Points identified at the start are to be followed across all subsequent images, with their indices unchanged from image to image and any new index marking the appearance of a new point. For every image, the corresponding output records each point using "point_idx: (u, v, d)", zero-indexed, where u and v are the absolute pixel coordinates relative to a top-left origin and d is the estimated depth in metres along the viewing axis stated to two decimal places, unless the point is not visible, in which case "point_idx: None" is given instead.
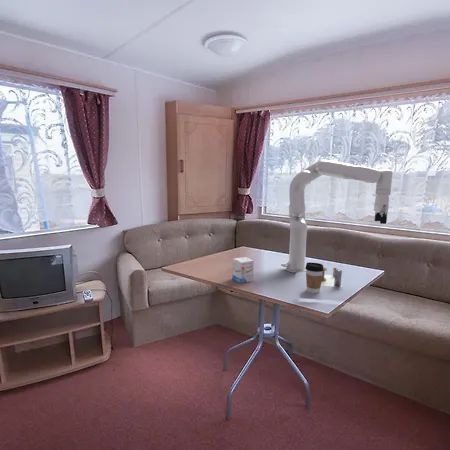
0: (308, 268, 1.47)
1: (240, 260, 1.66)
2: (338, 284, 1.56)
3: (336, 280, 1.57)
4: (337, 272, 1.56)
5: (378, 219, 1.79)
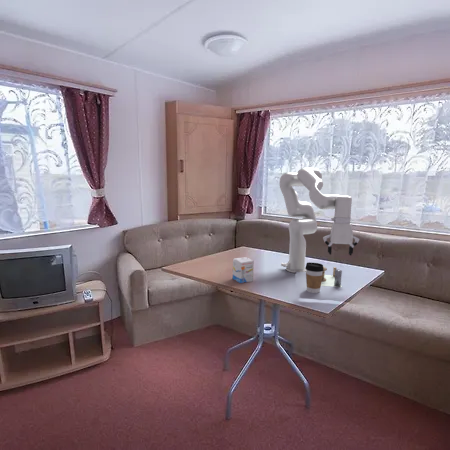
0: (308, 268, 1.47)
1: (240, 260, 1.66)
2: (338, 284, 1.56)
3: (336, 280, 1.57)
4: (337, 272, 1.56)
5: (330, 251, 1.56)
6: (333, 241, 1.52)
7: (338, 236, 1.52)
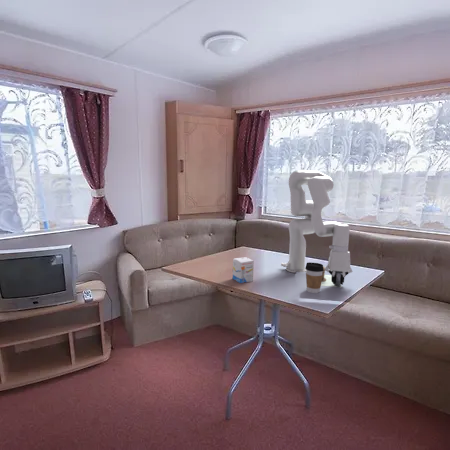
0: (308, 268, 1.47)
1: (240, 260, 1.66)
2: (338, 284, 1.56)
3: (336, 280, 1.57)
4: (337, 272, 1.56)
5: None
6: (331, 269, 1.55)
7: (336, 264, 1.54)
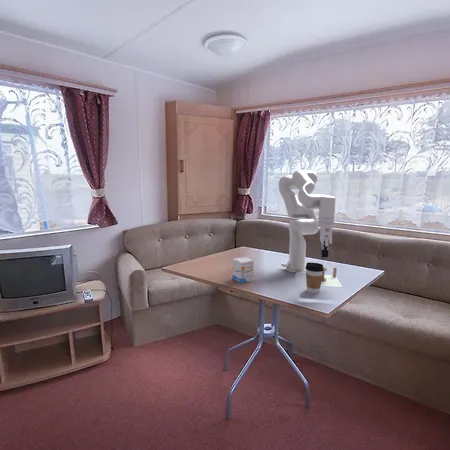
0: (308, 268, 1.47)
1: (240, 260, 1.66)
2: None
3: None
4: None
5: None
6: (331, 242, 1.52)
7: None
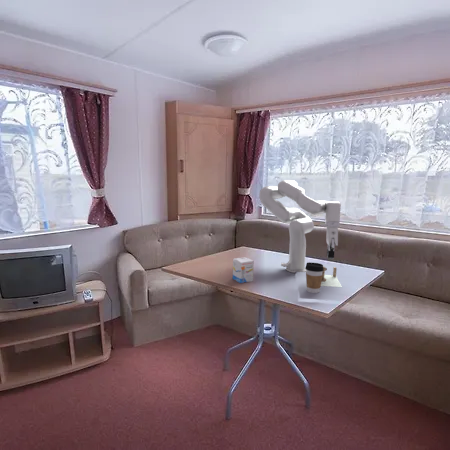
0: (308, 268, 1.47)
1: (240, 260, 1.66)
2: None
3: None
4: None
5: None
6: (337, 244, 1.66)
7: None
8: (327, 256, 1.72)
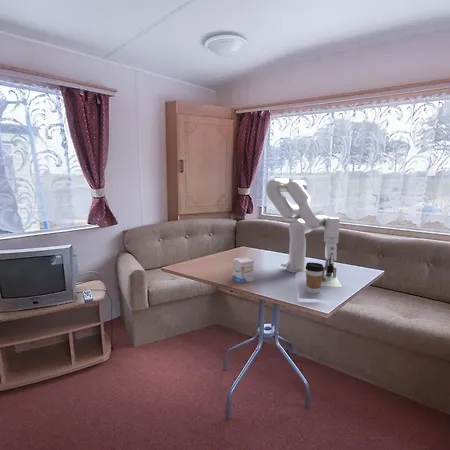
0: (308, 268, 1.47)
1: (240, 260, 1.66)
2: None
3: None
4: None
5: None
6: None
7: None
8: None
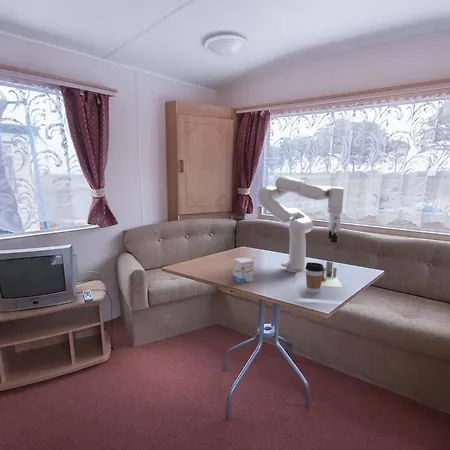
0: (308, 268, 1.47)
1: (240, 260, 1.66)
2: None
3: (331, 271, 1.72)
4: (332, 263, 1.72)
5: None
6: (339, 229, 1.66)
7: None
8: None
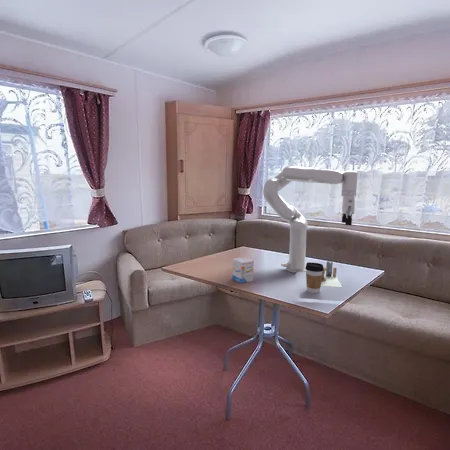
0: (308, 268, 1.47)
1: (240, 260, 1.66)
2: None
3: (331, 271, 1.72)
4: (332, 263, 1.72)
5: None
6: None
7: None
8: None
